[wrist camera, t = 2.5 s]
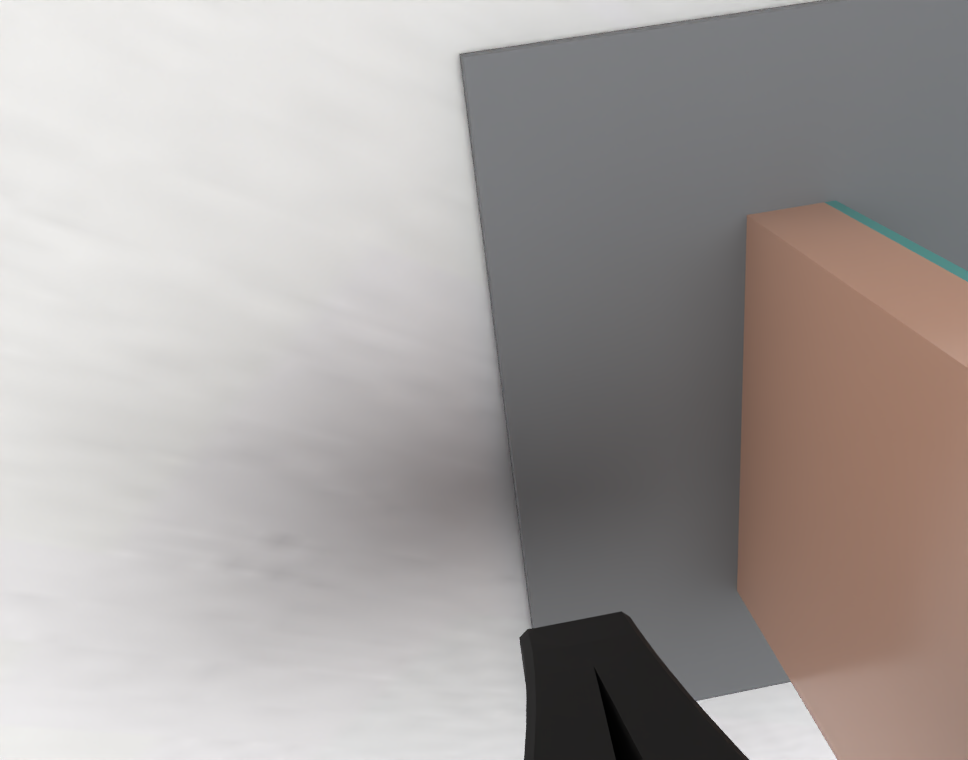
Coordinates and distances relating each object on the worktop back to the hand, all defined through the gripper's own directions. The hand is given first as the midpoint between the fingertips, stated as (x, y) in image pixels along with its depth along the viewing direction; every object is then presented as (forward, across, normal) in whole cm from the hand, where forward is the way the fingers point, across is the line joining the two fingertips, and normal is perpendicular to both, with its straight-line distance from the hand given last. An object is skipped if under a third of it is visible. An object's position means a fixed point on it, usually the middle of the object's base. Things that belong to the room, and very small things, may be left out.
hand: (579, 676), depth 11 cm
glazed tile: (+5, -5, 0) cm, 7 cm away
